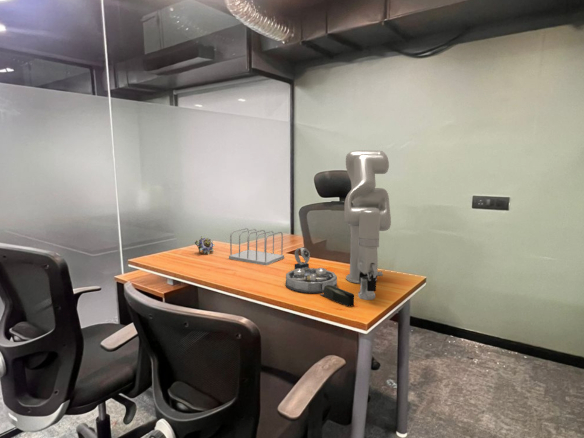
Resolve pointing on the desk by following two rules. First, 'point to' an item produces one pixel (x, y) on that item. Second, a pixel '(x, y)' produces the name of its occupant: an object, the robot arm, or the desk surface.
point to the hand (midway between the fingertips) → (367, 286)
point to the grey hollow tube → (365, 290)
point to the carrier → (309, 279)
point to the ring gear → (310, 285)
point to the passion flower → (205, 245)
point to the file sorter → (256, 256)
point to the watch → (305, 255)
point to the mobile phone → (338, 295)
